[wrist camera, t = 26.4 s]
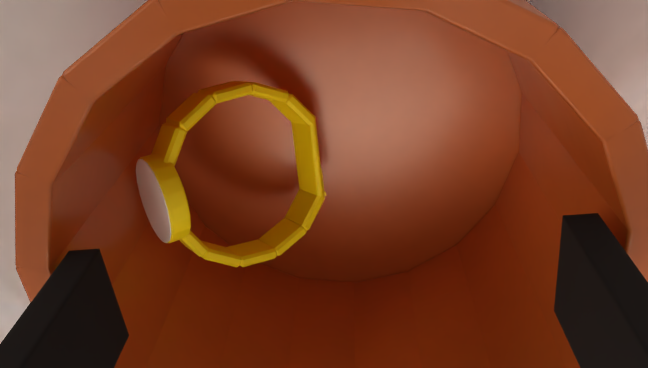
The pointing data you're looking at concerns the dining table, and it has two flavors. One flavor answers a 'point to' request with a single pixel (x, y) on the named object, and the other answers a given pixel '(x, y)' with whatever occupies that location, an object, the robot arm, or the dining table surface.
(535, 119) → the pot
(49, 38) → the dining table surface
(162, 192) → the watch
